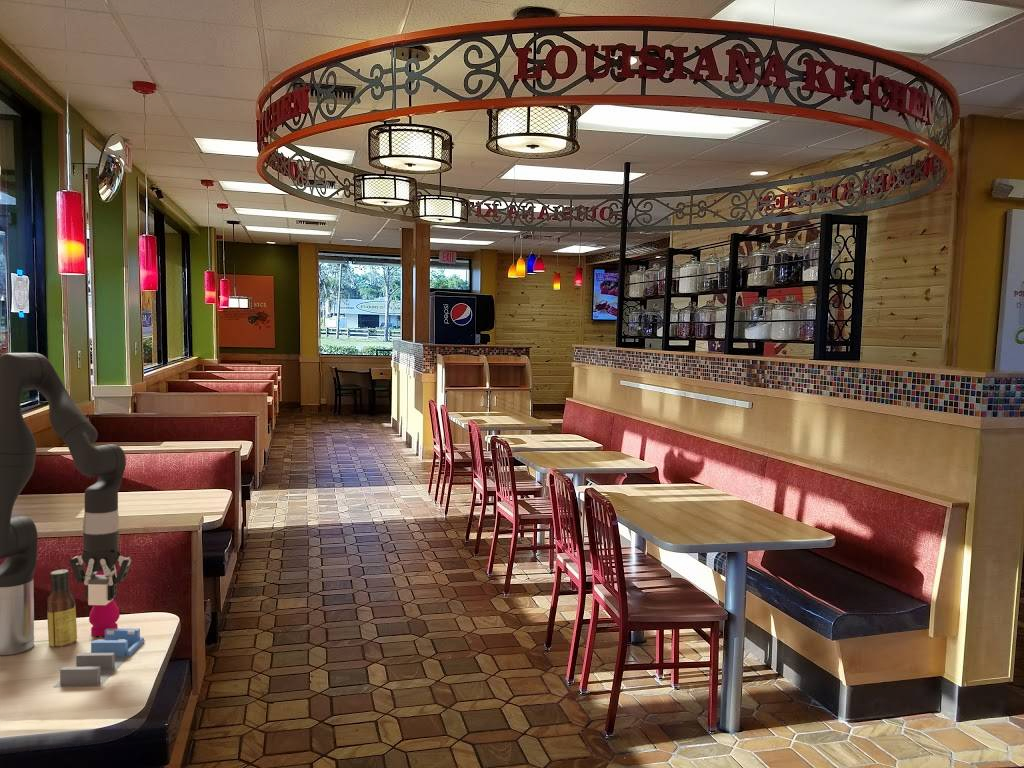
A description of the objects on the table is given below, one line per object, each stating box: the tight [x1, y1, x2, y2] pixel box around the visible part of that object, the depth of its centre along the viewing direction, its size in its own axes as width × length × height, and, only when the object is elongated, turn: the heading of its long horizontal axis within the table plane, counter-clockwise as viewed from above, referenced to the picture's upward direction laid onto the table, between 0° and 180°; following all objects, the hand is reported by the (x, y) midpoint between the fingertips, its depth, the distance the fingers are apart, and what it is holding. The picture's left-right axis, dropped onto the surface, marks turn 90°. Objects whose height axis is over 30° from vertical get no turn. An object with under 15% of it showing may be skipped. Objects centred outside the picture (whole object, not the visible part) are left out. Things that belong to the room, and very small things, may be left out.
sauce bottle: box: [46, 568, 78, 648], centre depth 193 cm, size 7×6×20 cm
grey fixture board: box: [53, 627, 146, 688], centre depth 183 cm, size 10×26×5 cm, turn 5°
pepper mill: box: [88, 570, 120, 637], centre depth 204 cm, size 7×7×20 cm
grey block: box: [87, 575, 113, 606], centre depth 182 cm, size 4×4×6 cm
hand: (100, 599), depth 182 cm, fingers closed on grey block, 4 cm apart
